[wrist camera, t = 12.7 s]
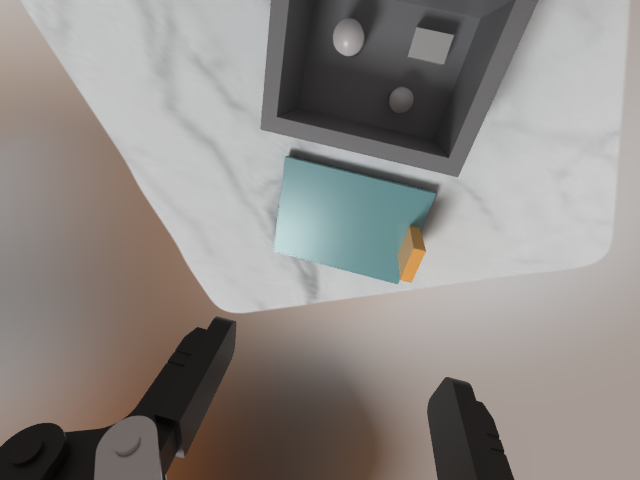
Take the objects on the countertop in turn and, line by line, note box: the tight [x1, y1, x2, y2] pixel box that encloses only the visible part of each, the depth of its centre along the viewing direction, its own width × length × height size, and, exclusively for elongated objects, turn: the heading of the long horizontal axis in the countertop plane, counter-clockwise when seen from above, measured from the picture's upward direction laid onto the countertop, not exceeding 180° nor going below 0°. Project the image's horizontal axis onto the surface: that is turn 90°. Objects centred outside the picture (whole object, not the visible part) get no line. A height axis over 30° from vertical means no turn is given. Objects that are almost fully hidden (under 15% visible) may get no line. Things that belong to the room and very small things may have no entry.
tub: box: [261, 0, 538, 177], centre depth 23 cm, size 16×12×8 cm
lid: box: [273, 156, 436, 284], centre depth 32 cm, size 16×12×6 cm
